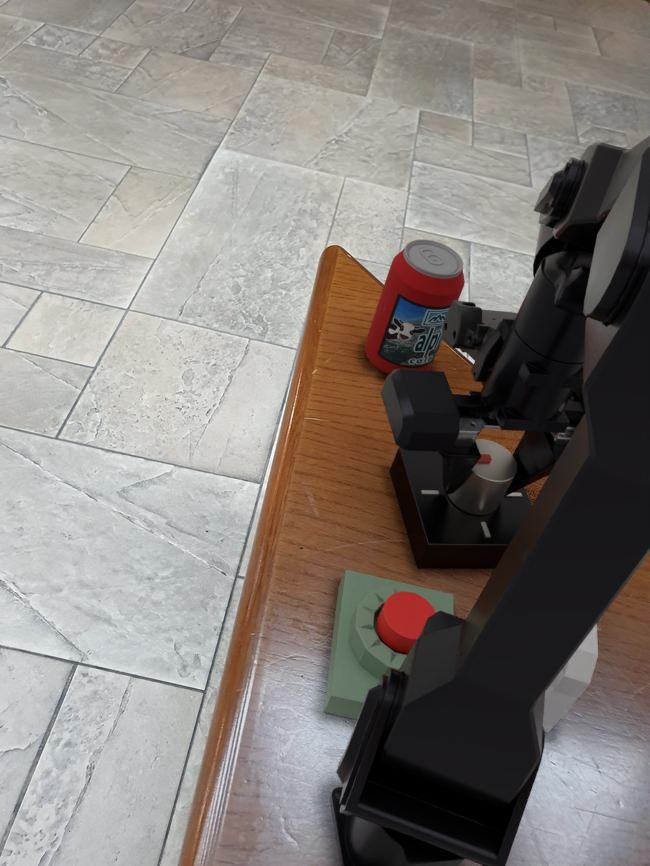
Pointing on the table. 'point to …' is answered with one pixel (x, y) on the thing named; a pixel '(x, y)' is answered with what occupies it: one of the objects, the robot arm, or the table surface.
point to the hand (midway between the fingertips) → (474, 490)
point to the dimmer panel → (450, 517)
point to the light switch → (571, 681)
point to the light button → (403, 620)
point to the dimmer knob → (486, 480)
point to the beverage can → (414, 306)
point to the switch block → (365, 639)
